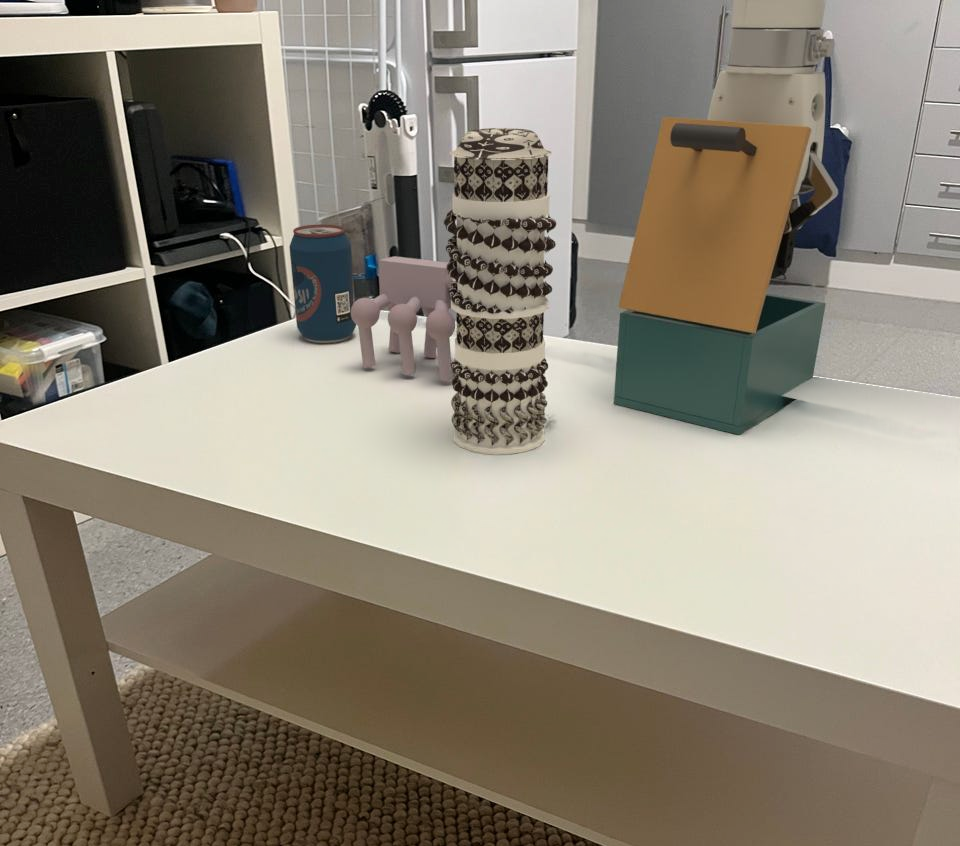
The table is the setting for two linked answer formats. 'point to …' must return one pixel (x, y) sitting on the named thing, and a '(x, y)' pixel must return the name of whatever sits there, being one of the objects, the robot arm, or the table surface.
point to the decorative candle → (499, 289)
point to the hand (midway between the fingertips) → (744, 269)
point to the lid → (713, 220)
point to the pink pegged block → (409, 311)
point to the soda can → (322, 283)
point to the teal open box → (717, 364)
